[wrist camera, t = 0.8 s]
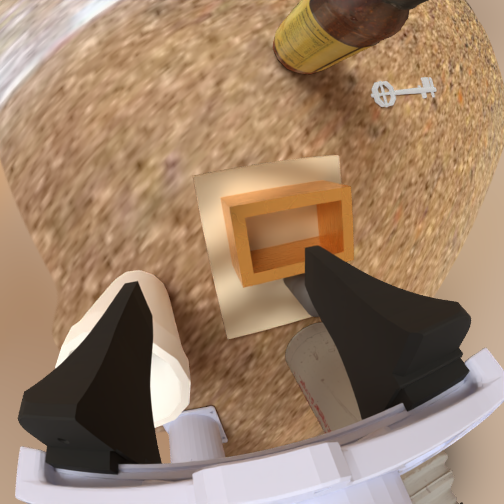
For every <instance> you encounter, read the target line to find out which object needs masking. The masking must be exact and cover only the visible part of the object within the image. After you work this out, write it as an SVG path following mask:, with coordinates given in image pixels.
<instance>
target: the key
mask: <svg viewBox="0 0 504 504" xmlns="http://www.w3.org/2000/svg"><path fill="white" fill-rule="evenodd" d="M421 80H422V83H423V87H424V88H421V86H420V85H419V86H418V88H411V89H403V90H395V91H394V89H393V87H392V86H391V85H390V84H389V83H388V82H387V81H384V82H381V81H379V82H376V83H374V85H373V87H372V93H373V94H371V97H374V99H375V102H376V103H377V104H379V105H380V106H381V107H388V106H392V105H394V102H395V100H396V97H395V95H400V94H415V93H421V94H422V97H423V98H427V96H426V92H431V94H432V97H435V96H434V92H436V88H435V87H434V86H433V82H432V79H431V77H429V80H428V78H427V77H424V78H421ZM429 81H430V83H431V87H430V84H429ZM383 85H385V86H386V87H387V88H388V89H389V92H386V93H385V92H384V89H383ZM379 86H380V87H381V91H382V93H379V92H378V88H379ZM385 95H390V96H391V100H390V102H389V103H387V100H386V96H385ZM380 96H383V98H384V102H385V103H384V102H383V101H382V100H380Z"/></svg>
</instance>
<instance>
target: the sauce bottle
mask: <svg viewBox="0 0 504 504" xmlns="http://www.w3.org/2000/svg"><path fill="white" fill-rule="evenodd" d="M425 1H428V0H301V1H300V2H299V3H298V4H297V6H296V7H295V8H294V9H293V10H292V11H291V13H290V14H289V15H288V16H287V17H286V19H285V20H284V21H283V22H282V24H281V25H280V26H279V28H278V29H277V31H276V34H275V37H274V41H273V50H274V52H275V54H276V56H277V58H278V59H279V61H280V62H281V63H282V64H283V65H284V66H285V67H286V68H287V69H289V70H292V71H294V72H298V73H302V74H313V73H316V72H319V71H322V70H325V69H327V68H329V67H331V66H333V65H335V64H337V63H339V62H341V61H343V60H344V59H346V58H348V57H351V56H353V55H355V54H357V53H359V52H361V51H363V50H365V49H367V48H370V47H372V46H374V45H376V44H378V43H379V42H380V41H381V40H384V39H386V38H389V37H391V36H393V35H395V34H396V33H397V32H398V31H399V30H401V28H402V26H403V25H404V23H405V22H406V20H407V19H408V15H409V10H410V9H413V8H415V7H416V6H417V5H418V4H421V3H423V2H425Z"/></svg>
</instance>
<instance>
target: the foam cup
mask: <svg viewBox="0 0 504 504" xmlns="http://www.w3.org/2000/svg"><path fill="white" fill-rule="evenodd" d="M135 281H138V283H139V285H140V288H141V290H142V292H143V295H144V297H145V300H146V302H147V304H148V306H149V309H150V311H151V313H152V316H153V348H152V361H151V377H150V390H151V403H152V412H153V421H154V428H156V427H158V426H161V425H163V424H166V423H168V422H171V421H173V420H175V419H176V418H177V417H178V416H179V415H180V414H181V413H182V411H183V410H184V409H185V408H186V407H187V405H188V404H189V400H190V385H191V381H190V371H189V360H188V358H187V356H186V355H185V353H184V351H183V349H182V345H181V342H180V338H179V334H178V330H177V326H176V322H175V318H174V314H173V310H172V306H171V302H170V298H169V295H168V292H167V290H166V288H165V286H164V283H162V282H161V281H160V280H159V279H158V278H157V277H156V276H154V275H153V274H150V273H147V272H144V271H141V270H137V271H129V272H125V273H124V274H122V275H121V276H119V277H118V278H116V280H114V281H113V282H112V284H111V285H110V286H109V287H108V288H107V289H106V291H105V292H104V293H103V294H102V295H101V296H100V298H99V299H98V300H97V301H96V302H95V303H94V305H93V306H92V307H91V308H90V309H89V311H88V312H87V313H86V314H85V315H84V317H83V318H82V319H81V320H80V321H79V322H78V323H76V324H75V325H73V326H72V327H71V329H70V331H69V333H68V335H67V337H66V339H65V341H64V343H63V345H62V348H61V351H60V354H59V357H58V360H57V363H56V366H55V367H56V368H57V367H58V366H59V365H60V364H61V363H62V362H63V361H64V360H65V359H66V358H67V357H68V356H69V355H70V354H71V353H72V352H73V351H74V350H75V349H76V348H77V347H78V346H79V345H80V344H81V342H82V341H83V340H84V339H85V338H86V337H87V335H88V334H89V333H90V332H91V330H92V329H93V328H94V326H95V325H96V323H97V322H98V321H99V319H100V318H101V317H102V315H103V314H104V313H105V311H106V310H107V308H108V307H109V305H110V304H111V302H112V301H113V299H114V298H115V296H116V295H117V294H118V292H119V291H120V289H121V288H122V287H123V285H124V284H125V283H130V282H135Z"/></svg>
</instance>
